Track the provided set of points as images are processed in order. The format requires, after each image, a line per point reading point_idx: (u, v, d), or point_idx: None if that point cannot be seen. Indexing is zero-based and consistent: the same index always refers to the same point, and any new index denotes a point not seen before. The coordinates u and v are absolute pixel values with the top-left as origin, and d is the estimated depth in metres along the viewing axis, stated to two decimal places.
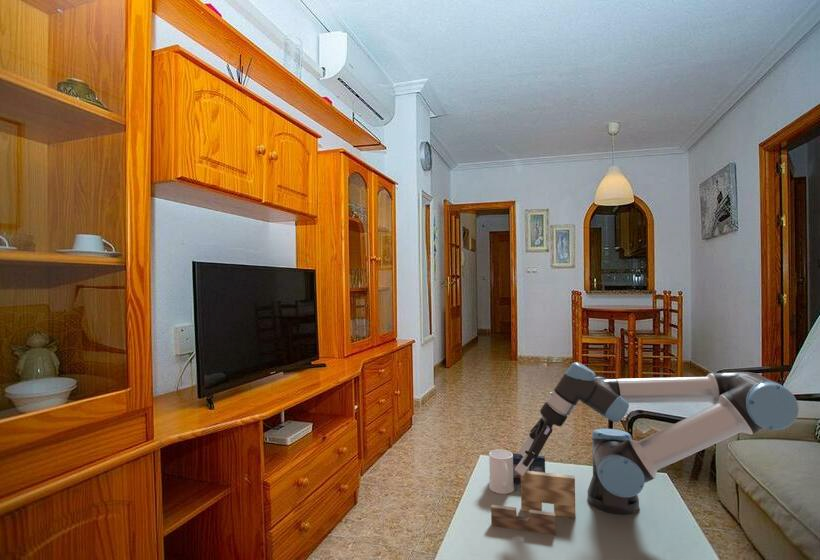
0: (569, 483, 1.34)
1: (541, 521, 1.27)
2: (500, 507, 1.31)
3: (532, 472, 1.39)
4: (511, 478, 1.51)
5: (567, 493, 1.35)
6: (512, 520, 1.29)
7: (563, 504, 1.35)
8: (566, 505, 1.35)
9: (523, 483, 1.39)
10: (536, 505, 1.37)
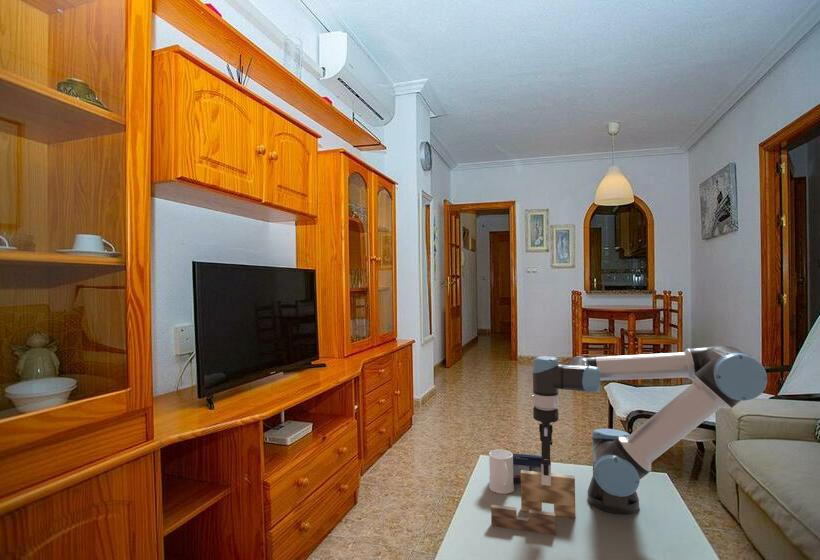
0: (569, 483, 1.34)
1: (541, 521, 1.27)
2: (500, 507, 1.31)
3: (532, 472, 1.39)
4: (511, 478, 1.51)
5: (567, 493, 1.35)
6: (512, 520, 1.29)
7: (563, 504, 1.35)
8: (566, 505, 1.35)
9: (523, 483, 1.39)
10: (536, 505, 1.37)
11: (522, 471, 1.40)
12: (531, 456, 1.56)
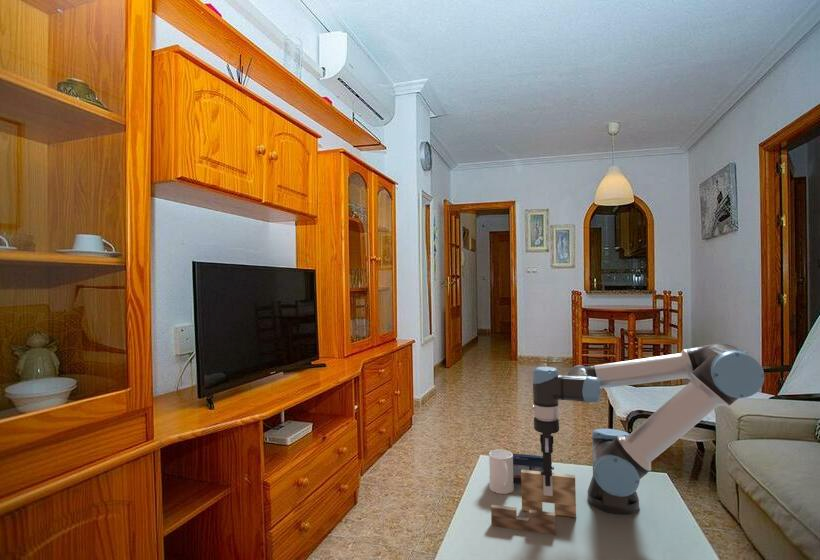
0: (569, 482, 1.34)
1: (541, 521, 1.27)
2: (500, 507, 1.31)
3: (532, 471, 1.39)
4: (511, 478, 1.51)
5: (567, 492, 1.35)
6: (512, 520, 1.29)
7: (563, 503, 1.35)
8: (566, 504, 1.35)
9: (523, 483, 1.38)
10: (537, 504, 1.37)
11: (522, 471, 1.40)
12: (531, 456, 1.56)
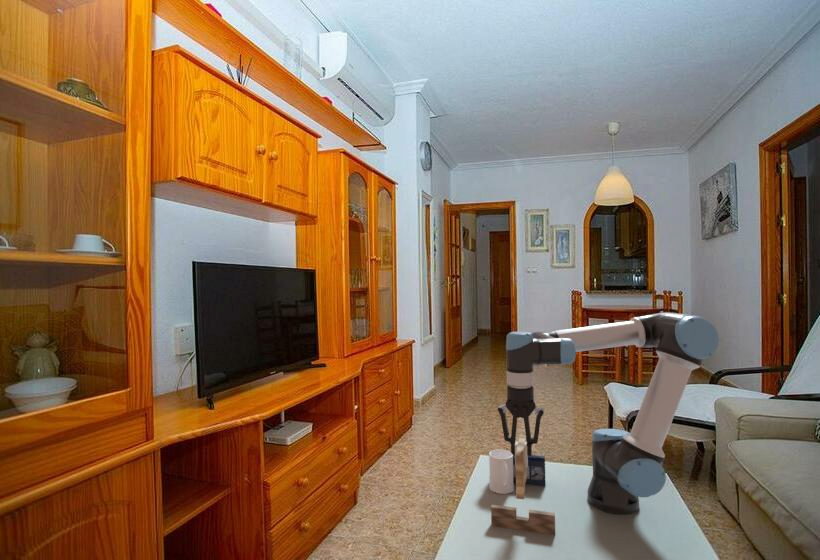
0: None
1: (541, 521, 1.27)
2: (500, 507, 1.31)
3: (522, 439, 1.33)
4: (511, 478, 1.51)
5: None
6: (512, 520, 1.29)
7: None
8: None
9: None
10: None
11: (523, 435, 1.36)
12: (531, 456, 1.56)
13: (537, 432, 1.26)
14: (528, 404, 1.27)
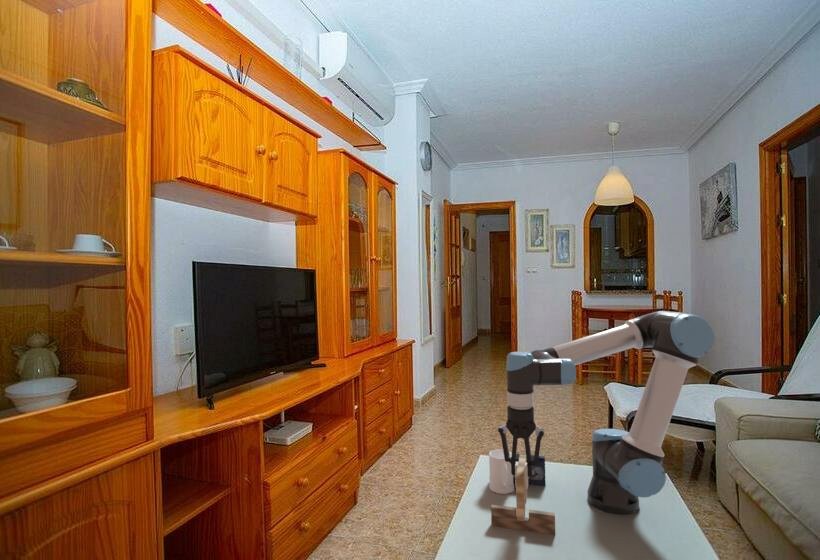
0: None
1: (541, 521, 1.27)
2: (500, 507, 1.31)
3: (522, 459, 1.33)
4: (511, 478, 1.51)
5: None
6: (512, 520, 1.29)
7: None
8: None
9: None
10: None
11: (523, 455, 1.36)
12: (531, 456, 1.56)
13: (537, 453, 1.26)
14: (528, 425, 1.27)
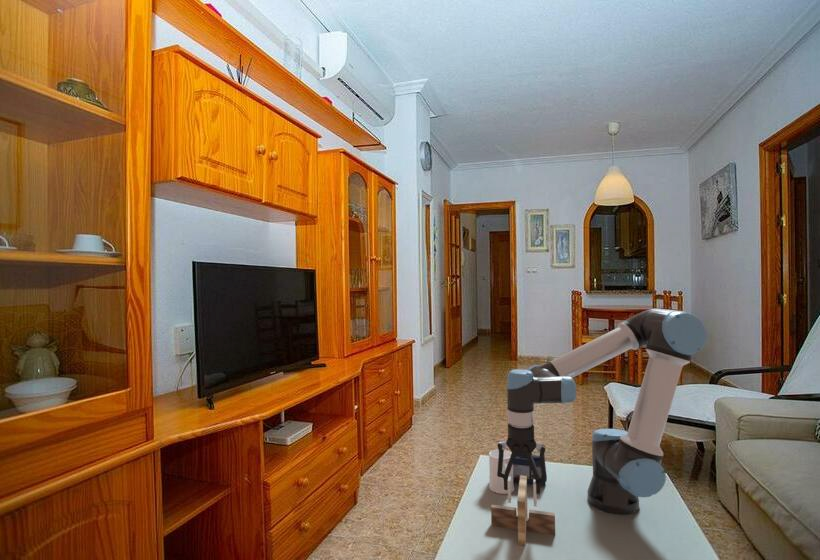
0: None
1: (541, 521, 1.27)
2: (500, 507, 1.31)
3: (523, 481, 1.33)
4: (511, 478, 1.51)
5: None
6: (512, 520, 1.29)
7: None
8: None
9: None
10: None
11: (523, 476, 1.36)
12: None
13: (544, 470, 1.26)
14: (528, 444, 1.27)
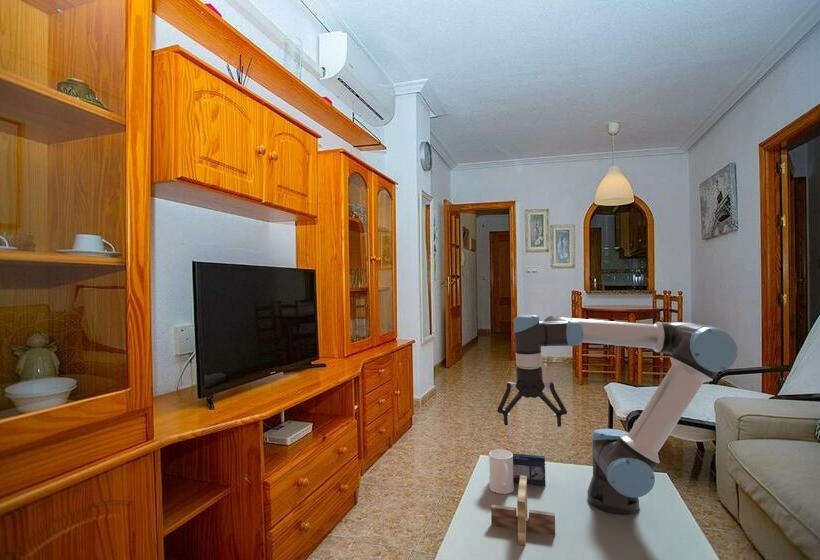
0: None
1: (541, 521, 1.27)
2: (500, 507, 1.31)
3: (523, 481, 1.33)
4: (511, 478, 1.51)
5: None
6: (512, 520, 1.29)
7: None
8: None
9: None
10: None
11: (523, 476, 1.36)
12: (531, 456, 1.56)
13: (560, 403, 1.30)
14: (537, 386, 1.32)
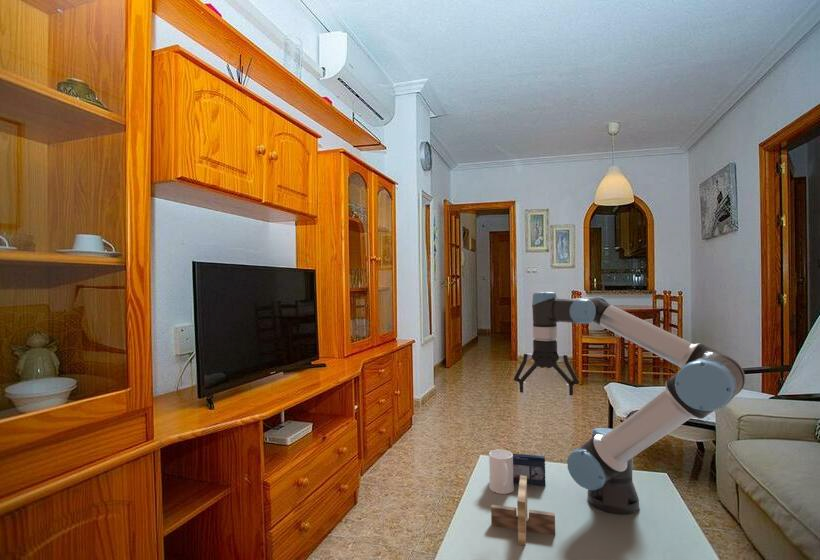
0: None
1: (541, 521, 1.27)
2: (500, 507, 1.31)
3: (523, 481, 1.33)
4: (511, 478, 1.51)
5: None
6: (512, 520, 1.29)
7: None
8: None
9: None
10: None
11: (523, 476, 1.36)
12: (531, 456, 1.56)
13: (573, 374, 1.41)
14: (552, 357, 1.43)
